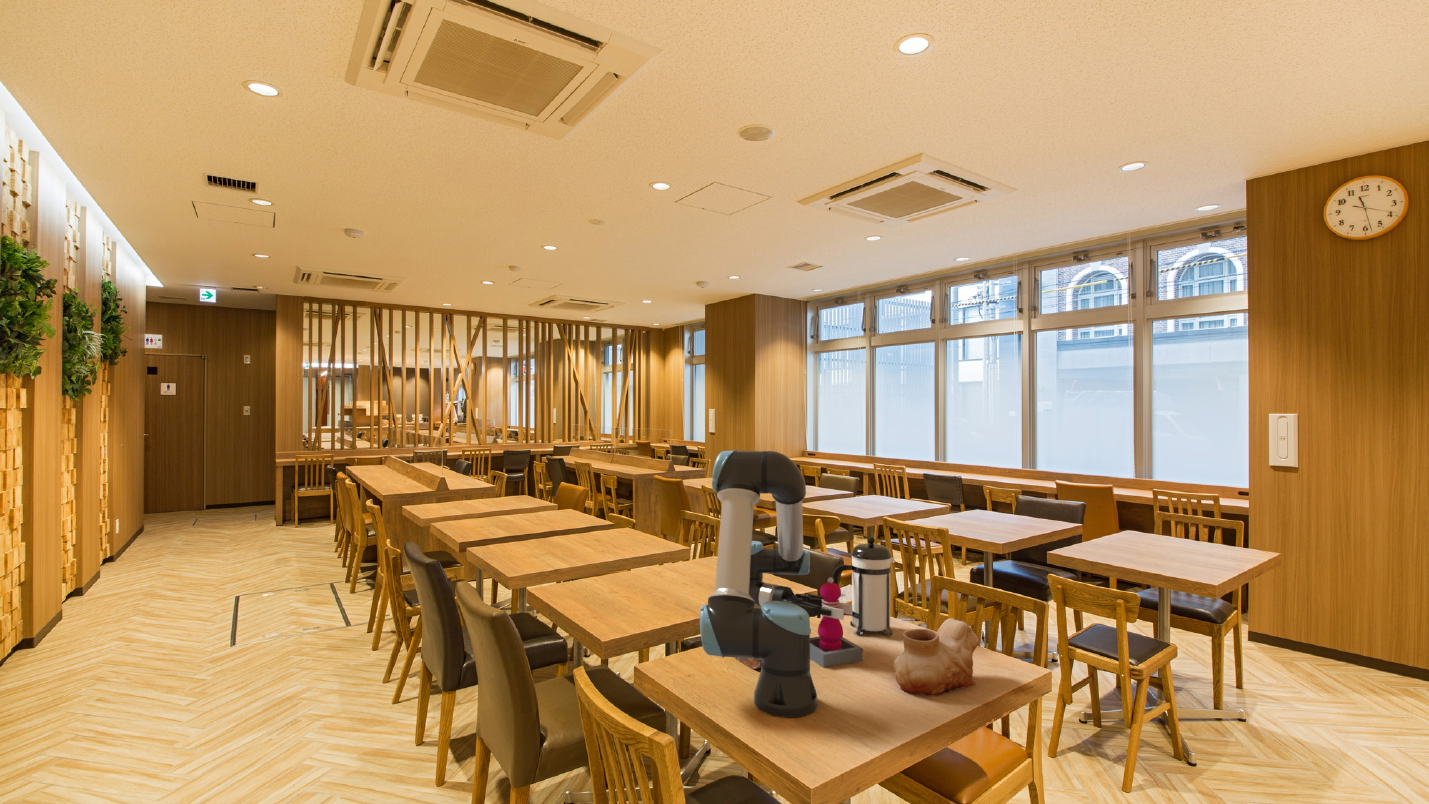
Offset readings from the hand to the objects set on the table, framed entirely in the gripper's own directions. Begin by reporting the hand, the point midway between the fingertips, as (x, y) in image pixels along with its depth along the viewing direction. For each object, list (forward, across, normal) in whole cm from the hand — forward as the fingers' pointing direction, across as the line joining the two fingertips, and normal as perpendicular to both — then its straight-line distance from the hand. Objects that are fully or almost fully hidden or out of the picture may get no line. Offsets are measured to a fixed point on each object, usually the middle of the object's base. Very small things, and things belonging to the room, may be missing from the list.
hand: (847, 612), depth 185 cm
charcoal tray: (-5, 0, -14) cm, 14 cm away
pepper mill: (-5, 0, -11) cm, 12 cm away
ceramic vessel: (+25, -1, -14) cm, 29 cm away
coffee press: (-6, -27, -14) cm, 31 cm away
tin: (-21, +19, -14) cm, 31 cm away
